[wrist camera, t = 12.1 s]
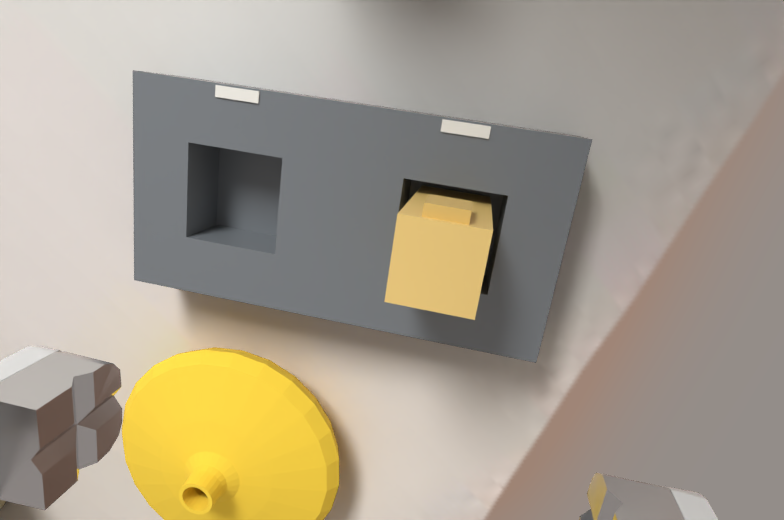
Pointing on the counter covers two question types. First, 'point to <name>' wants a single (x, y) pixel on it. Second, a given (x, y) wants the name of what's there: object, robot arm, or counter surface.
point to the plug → (440, 252)
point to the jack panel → (341, 205)
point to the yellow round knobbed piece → (229, 440)
